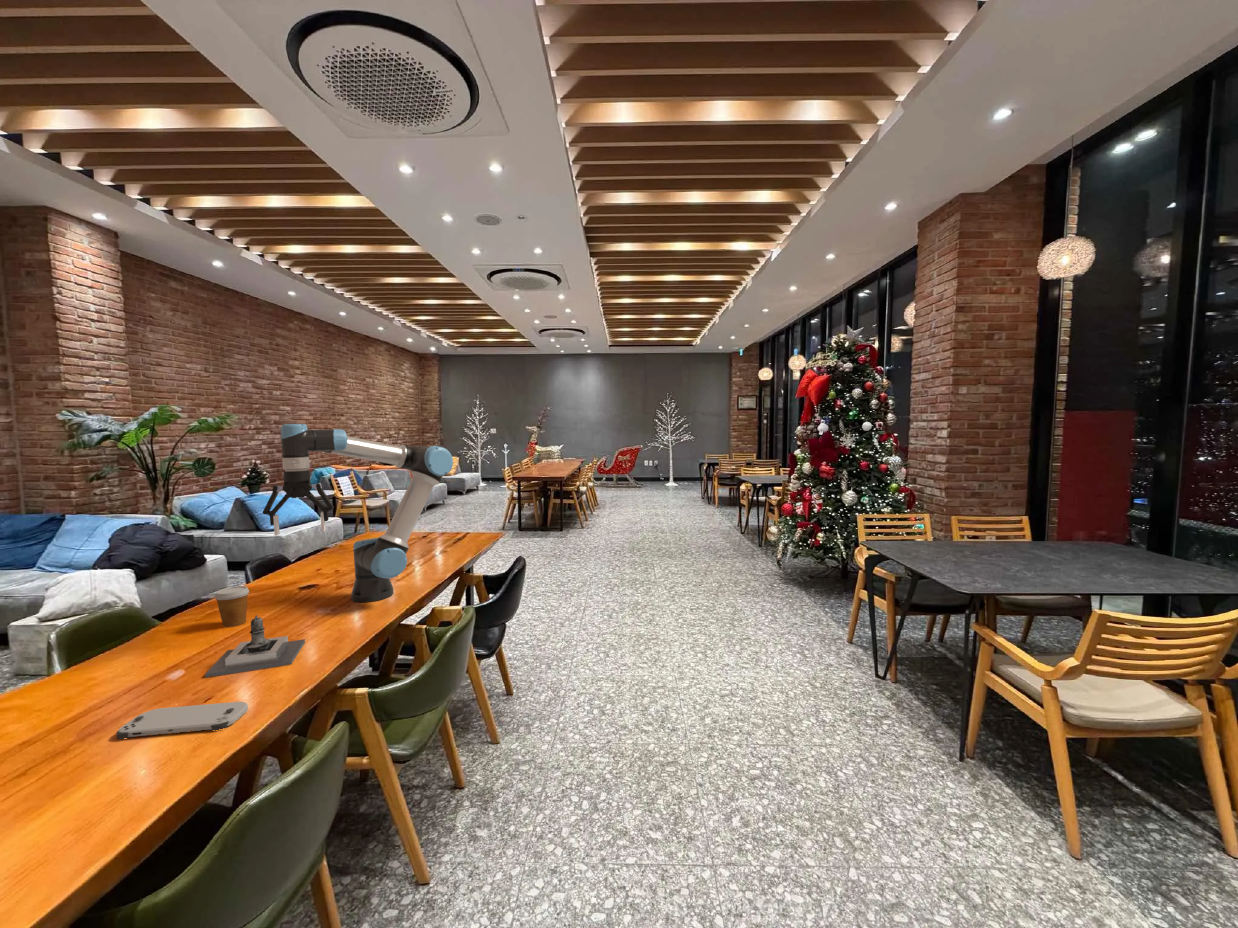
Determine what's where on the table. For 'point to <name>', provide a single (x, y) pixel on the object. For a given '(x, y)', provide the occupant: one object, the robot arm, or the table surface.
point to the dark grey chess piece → (257, 636)
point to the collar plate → (279, 662)
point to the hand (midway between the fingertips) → (300, 532)
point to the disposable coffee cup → (232, 605)
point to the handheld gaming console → (183, 719)
